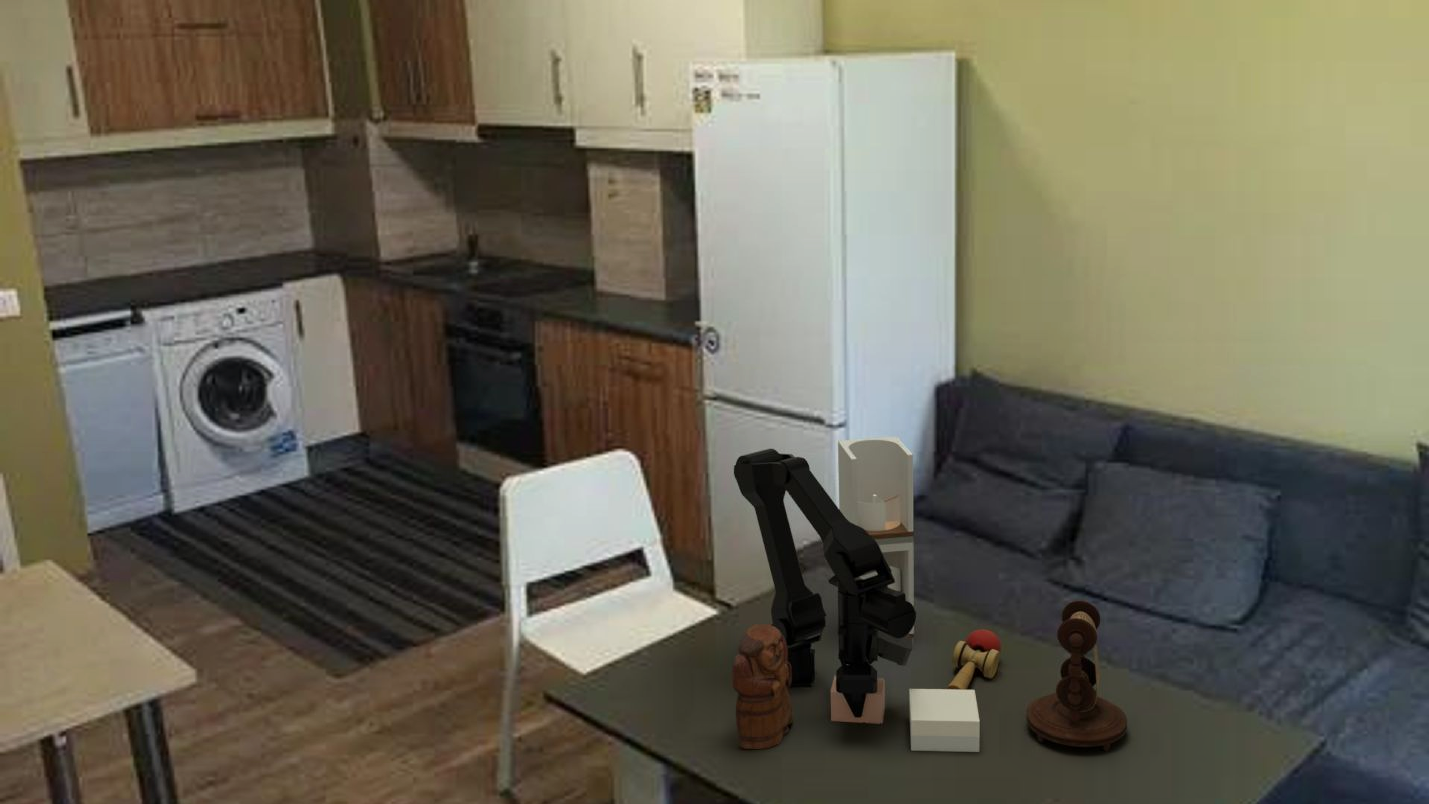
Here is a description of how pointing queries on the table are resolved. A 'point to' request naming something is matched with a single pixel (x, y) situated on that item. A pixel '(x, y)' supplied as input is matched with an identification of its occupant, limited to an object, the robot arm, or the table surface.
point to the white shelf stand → (881, 502)
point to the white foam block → (943, 720)
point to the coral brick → (871, 709)
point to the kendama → (975, 657)
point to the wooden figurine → (762, 687)
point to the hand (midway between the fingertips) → (858, 707)
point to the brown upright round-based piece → (1077, 689)
